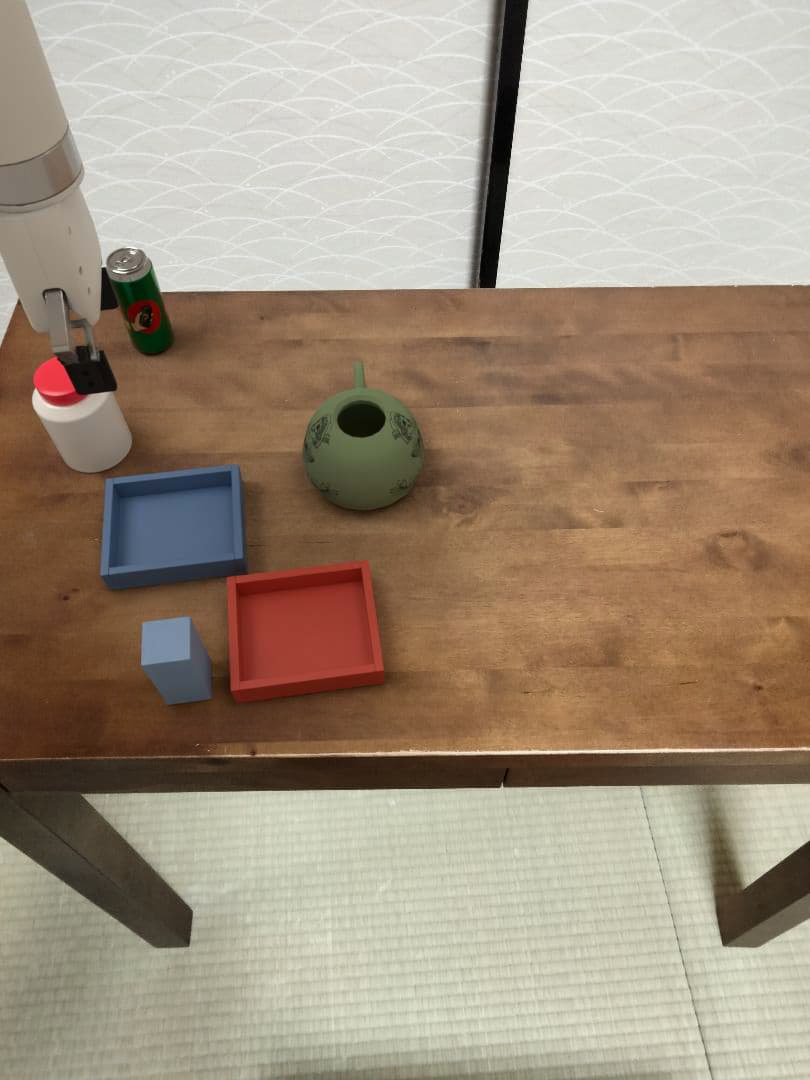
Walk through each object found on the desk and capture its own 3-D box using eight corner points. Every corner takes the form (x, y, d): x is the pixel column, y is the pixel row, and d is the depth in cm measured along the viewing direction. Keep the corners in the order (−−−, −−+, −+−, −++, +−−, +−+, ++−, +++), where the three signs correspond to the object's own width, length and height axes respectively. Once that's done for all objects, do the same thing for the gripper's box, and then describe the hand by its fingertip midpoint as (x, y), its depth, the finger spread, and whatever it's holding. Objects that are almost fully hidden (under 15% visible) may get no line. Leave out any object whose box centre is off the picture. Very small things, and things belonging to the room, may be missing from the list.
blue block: (167, 705, 74) (140, 665, 66) (168, 665, 76) (142, 621, 68) (212, 699, 74) (190, 659, 67) (211, 659, 76) (190, 615, 69)
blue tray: (109, 590, 80) (99, 575, 78) (114, 495, 86) (105, 478, 84) (247, 573, 81) (242, 558, 79) (243, 480, 87) (238, 463, 85)
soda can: (184, 336, 99) (159, 254, 89) (156, 362, 97) (127, 281, 86) (152, 320, 100) (124, 238, 90) (124, 345, 98) (92, 264, 88)
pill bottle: (56, 429, 91) (17, 358, 82) (125, 410, 93) (94, 339, 83) (66, 481, 87) (26, 413, 78) (138, 461, 89) (107, 392, 79)
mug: (429, 515, 85) (431, 464, 78) (305, 522, 85) (295, 471, 77) (417, 399, 94) (418, 344, 86) (304, 405, 93) (296, 350, 86)
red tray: (236, 703, 74) (230, 691, 72) (232, 592, 80) (226, 577, 78) (384, 683, 75) (384, 670, 73) (369, 575, 81) (368, 559, 79)
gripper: (-26, 93, 58) (58, 284, 73) (-55, 249, 49) (48, 432, 64) (81, 83, 59) (143, 275, 73) (72, 235, 50) (145, 420, 64)
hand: (99, 348), depth 68 cm, fingers open, 9 cm apart
